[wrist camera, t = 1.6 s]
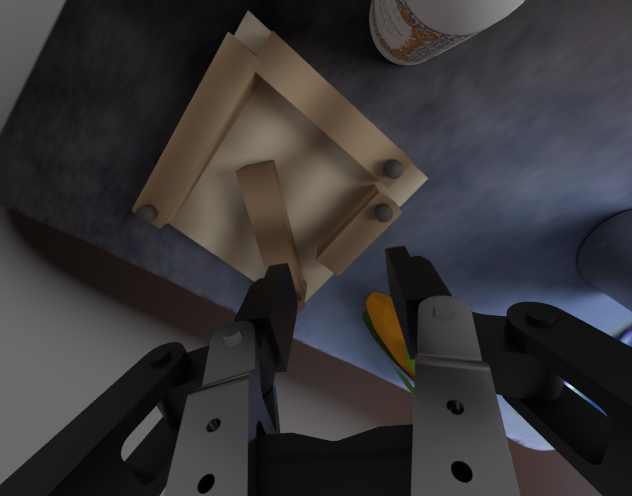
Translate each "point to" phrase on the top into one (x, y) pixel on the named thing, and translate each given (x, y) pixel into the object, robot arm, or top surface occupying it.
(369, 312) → the corn
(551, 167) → the top surface
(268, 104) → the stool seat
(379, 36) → the bath foam
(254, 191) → the brown rectangular block
